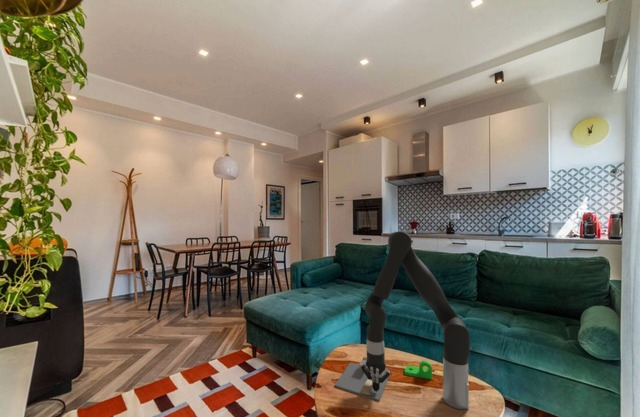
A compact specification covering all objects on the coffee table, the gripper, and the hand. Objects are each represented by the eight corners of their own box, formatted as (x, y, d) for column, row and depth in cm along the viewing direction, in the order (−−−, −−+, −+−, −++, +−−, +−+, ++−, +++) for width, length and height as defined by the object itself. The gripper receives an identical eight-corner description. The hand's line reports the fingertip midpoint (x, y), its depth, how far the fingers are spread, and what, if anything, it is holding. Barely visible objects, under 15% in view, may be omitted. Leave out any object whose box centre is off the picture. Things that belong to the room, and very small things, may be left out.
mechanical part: (431, 373, 129) (431, 357, 129) (432, 381, 123) (432, 363, 123) (405, 368, 133) (405, 352, 133) (404, 375, 127) (404, 359, 127)
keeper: (371, 368, 131) (371, 358, 131) (367, 376, 125) (367, 366, 125) (363, 365, 133) (363, 356, 133) (358, 374, 127) (358, 364, 127)
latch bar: (373, 371, 128) (373, 360, 128) (382, 373, 126) (382, 363, 126) (361, 392, 113) (361, 380, 113) (370, 395, 111) (371, 383, 111)
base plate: (389, 375, 127) (389, 373, 127) (379, 402, 110) (379, 399, 110) (350, 364, 136) (350, 362, 136) (334, 387, 119) (334, 385, 119)
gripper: (393, 348, 114) (393, 389, 114) (363, 342, 120) (363, 380, 120) (389, 357, 108) (389, 400, 107) (357, 350, 113) (358, 390, 113)
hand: (376, 390), depth 114 cm, fingers closed
